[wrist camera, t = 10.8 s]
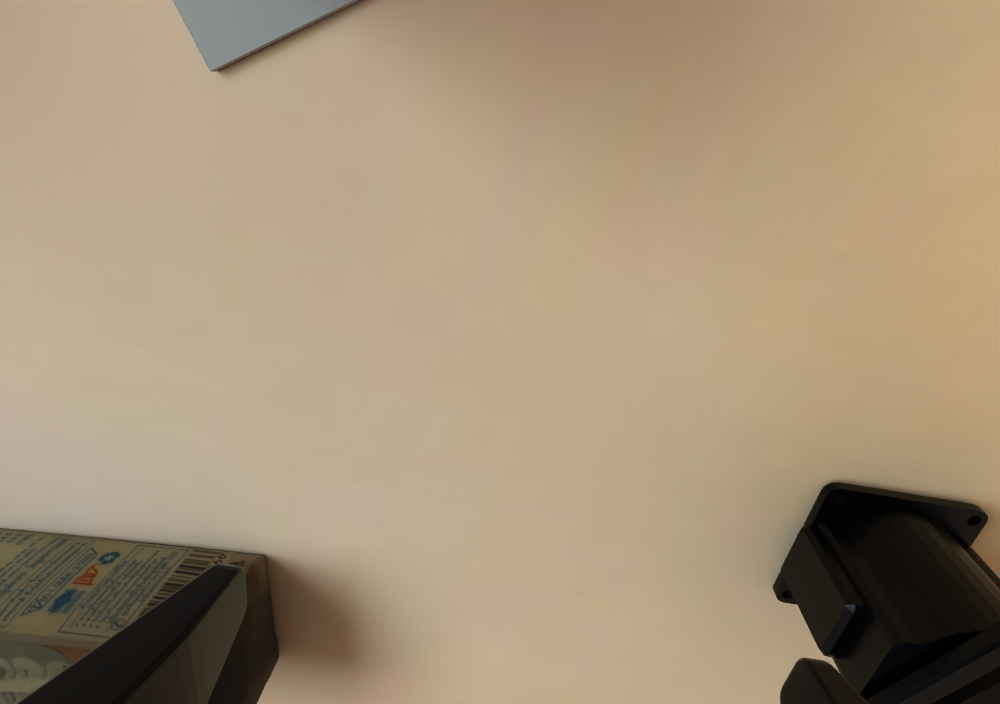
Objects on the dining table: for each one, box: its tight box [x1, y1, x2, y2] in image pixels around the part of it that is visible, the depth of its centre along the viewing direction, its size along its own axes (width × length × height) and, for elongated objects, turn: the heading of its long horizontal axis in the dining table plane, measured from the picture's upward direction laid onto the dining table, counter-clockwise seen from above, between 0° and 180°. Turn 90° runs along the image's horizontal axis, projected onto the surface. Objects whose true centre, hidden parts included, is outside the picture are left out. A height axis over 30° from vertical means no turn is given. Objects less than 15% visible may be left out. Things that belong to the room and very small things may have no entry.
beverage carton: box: [0, 528, 279, 704], centre depth 26 cm, size 8×19×7 cm, turn 87°
